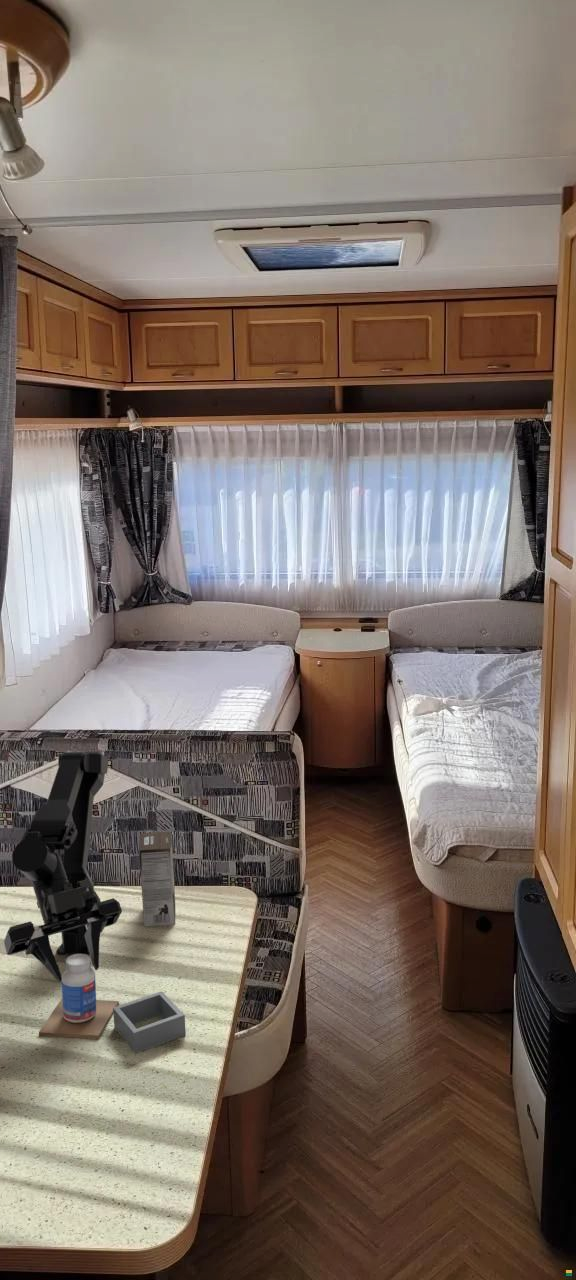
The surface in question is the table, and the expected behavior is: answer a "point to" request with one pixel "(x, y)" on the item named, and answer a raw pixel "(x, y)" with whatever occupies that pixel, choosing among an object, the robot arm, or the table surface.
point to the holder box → (153, 1032)
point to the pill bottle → (78, 989)
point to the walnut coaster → (87, 1029)
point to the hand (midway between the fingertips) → (78, 975)
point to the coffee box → (157, 878)
